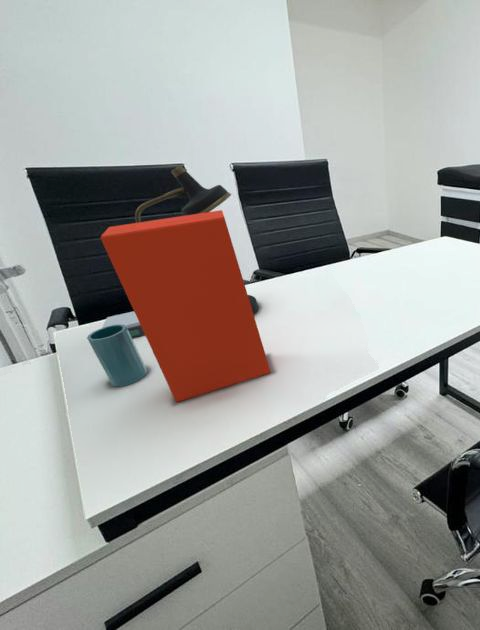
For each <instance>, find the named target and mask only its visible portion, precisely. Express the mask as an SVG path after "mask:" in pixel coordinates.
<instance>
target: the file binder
mask: <svg viewBox="0 0 480 630" xmlns="http://www.w3.org/2000/svg"><path fill="white" fill-rule="evenodd" d="M100 240H101V242H102V244H103V247H104V248H105V251H106V253H107V255H108V257H109V259H110V262H111V264H112V266H113V268H114V271H115V273H116V275H117V277H118V279H119V281H120V284H121V286H122V288H123V290H124V292H125V294H126V296H127V299H128V301H129V303H130V306H131V307H132V309H133V311H134V312H135V314H136V316H137V318H138V321H139V323H140V325H141V327H142V329H143V331H144V334H145V335H144V336H145V338H146V340H147V343H148V344H149V346H150V349H151V351H152V353H153V355H154V357H155V360H156V362H157V364H158V366H159V368H160V370H161V372H162V375H163V377H164V379H165V381H166V384H167V385H168V388H169V390H170V392H171V394H172V397H173V399H174V401H175V402H176V403H179V402H182V401H184V400H185V401H186V400H188V399H192V398H195V397H198V396H202V395H204V394H208V393H211V392H213V391H214V392H215V391H217V390H220V389H224V388H226V387H230V386H233V385H236V384H239V383H243V382H246V381H249V380H252V379H256V378H259V377H261V376H265V375H268V374H271V373H272V371H271V368H270V365H269V361H268V358H267V355H266V352H265V349H264V345H263V341H262V338H261V335H260V332H259V328H258V325H257V322H256V318H255V314H254V315H253V311H252V308H251V305H250V301H249V298H248V295H249V294H248V292H247V288H246V285H245V281H244V278H243V275H242V271H241V268H240V265H239V262H238V257H237V255H236V251H235V248H234V245H233V244H234V243H233V242H232V237H231V235H230V231H229V229H228V225H227V222H226V217H225V215H224V212H223V210H222V209H221V210H220V209H219V210H214V211H213V210H212V211H210V212H206V213H199V214H193V215H186V216H185V215H181V216H179V215H178V216H174V217H166V218H159V219H153V220H147V221H141V222H139V223H136V222H132V223H127V224H120V225H113V226H109V227H108V228H107V229H106V230H105V231H104V232H103V233H102V234H101V236H100Z"/></svg>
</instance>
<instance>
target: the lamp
mask: <svg viewBox="0 0 480 630" xmlns="http://www.w3.org/2000/svg"><path fill="white" fill-rule="evenodd" d="M170 172H171V174H172V175H173V176H174V177H175V179H176V181H177V182H178V183H179V185H180V186H181V187H179V188H175V189H173V190H171V191H169V192H166V193H164V194H162V195H160V196H158V197H154V198H152V199H150V200H147V201H145V202H144V203H142V204H140V205H139V206H138V207H136V210H135V213H134V219H135V223H139V222H142V220H141V214H142V212H143V211H144V210H145V209H146V208H148V207H150V206H153V205H155V204H158V203H160V202H163V201H165V200H169V199H171V198H174V197H177V196H179V195H182V194H183V193H186V194H187V196H188V198H189V202H188V203H187V204H185V206H184V207H182V208H181V213H182V214H183V216H186V215H193V214H199V213H206V212H212V211H213V210H215V209H216V208H217V207H219V206H220V205H221V204H223V203H224V202H225V201H227V200H228V199H229V198H230V197H231V195H232V193H230V192H229V191H228V190H227V189H226V188H225V187H223V186H222V185H221V184H217V185H215V186H213V187H211V188H205V187H203V186H202V185H201V184H200V182H199V181H198V180H196V179H195V178H194V177H193V176H192V175H191V174H190V173H189V172H188V171H187V170H186V169H185V168H184V167H183V166H182V165H178V166H176V167H175V168H173V169H172V170H171V171H170ZM247 295H248V298H249V301H250V305H251V308H252V311H253V315H254V316H255V314H257V313H258V311H259V309H260V307H259V304H258V301H257V298H256V297H255V296H253V295H251V294H247Z"/></svg>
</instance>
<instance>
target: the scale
mask: <svg viewBox="0 0 480 630" xmlns="http://www.w3.org/2000/svg"><path fill="white" fill-rule="evenodd" d="M118 324H121V325H125V326H126V327H127V329H128V331H129V333H130V335H131V337H132V339H134V338H137V337H141V336H145V334H144V331H143V329H142V327H141V325H140V323H139V321H138V318H137V316H136V314H135V312H134V310H133V311H129V312H125V313H120V314H115V315H112V316H107V317H106V318H105V321H104V323H103V325H102V326H101V328H104V327H107V326H111V325H118Z"/></svg>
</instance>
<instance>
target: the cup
mask: <svg viewBox="0 0 480 630" xmlns="http://www.w3.org/2000/svg"><path fill="white" fill-rule="evenodd" d="M86 340H87V342H88V343H89V345H90V347H91V349H92V351H93V353H94V355H95V357H96V358H97V360H98V362H99V364H100V366H101V367H102V370H103V371H104V373H105V375H106V377H107V379H108V380H109V382H110V384H111V386H114V387H124V386H128V385H131V384H134V383H137V382H138V381H140V380H142V379H143V378H144V377H146V375H147V373H148V370H147V367H146V365H145V362H144V360H143V359H142V358H143V357H142V356H141V354H140V352H139V350H138V348H137V346H136V344H135V342H134V338H132V337H131V335H130V333H129V331H128V329H127V327H126V326H125V325H121V324H118V325H111V326H107V327H104V328H102V327H101V328H98V329H96V330H94V331H92V332H91V333H89V334H88V335H87V337H86Z"/></svg>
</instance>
